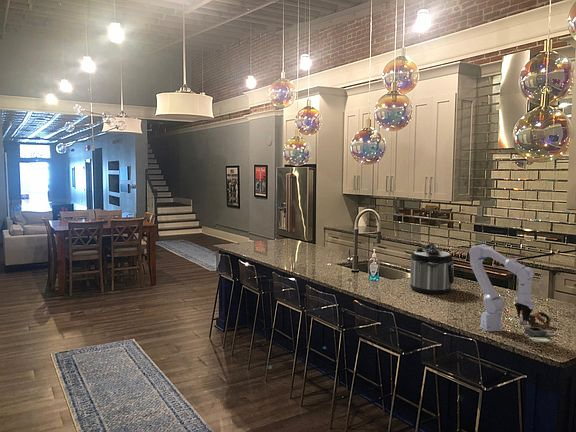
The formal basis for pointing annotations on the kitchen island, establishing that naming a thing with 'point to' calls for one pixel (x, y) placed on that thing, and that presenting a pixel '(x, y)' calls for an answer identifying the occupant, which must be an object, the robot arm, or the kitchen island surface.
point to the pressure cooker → (431, 270)
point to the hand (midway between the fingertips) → (523, 319)
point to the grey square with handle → (537, 331)
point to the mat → (540, 339)
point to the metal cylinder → (522, 319)
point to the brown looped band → (532, 319)
